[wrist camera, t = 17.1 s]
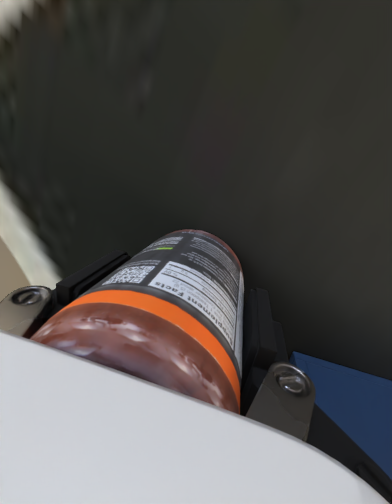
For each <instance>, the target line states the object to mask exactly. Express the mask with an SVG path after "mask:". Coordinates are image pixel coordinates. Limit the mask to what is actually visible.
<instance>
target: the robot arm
mask: <svg viewBox="0 0 392 504" xmlns="http://www.w3.org/2000/svg"><path fill="white" fill-rule="evenodd" d="M129 260H130V256H128V253H127V252H123V251H120V250H114V251H112V252H111V253H109V254H107V255H105V256H104V257H102V258H100V259H98V260H97V261H95V262H93V263H91V264H90V265H88V266H86V267H84V268H83V269H81V270H79V271H77V272H76V273H74V274H72V275H70V276H69V277H67V278H65V279H63V280H62V281H60V282H58V283H56V289H54V290H51V289H50V288H47V287H44V286H27V287H23V288H19V289H17V290H15V291H13V292H11V293H10V294H8V295H7V296H6V297H5V298H4V299H3V300H2V301H1V302H0V504H392V480H391V479H390V477H389V476H388V475H387V474H386V473H385V472H384V471H383V470H382V468H381V467H379V466H378V465H377V464H376V463H375V462H374V461H373V460H372V459H371V458H370V457H369V456H368V455H367V454H366V453H365V452H364V451H363V450H362V449H361V448H360V447H359V446H358V445H357V444H356V443H355V442H354V441H353V440H352V439H351V438H350V437H349V436H348V435H347V434H346V433H345V432H344V431H343V430H342V429H341V428H340V427H339V426H338V425H337V424H336V423H335V422H334V421H333V420H332V419H331V418H330V417H329V416H328V415H327V414H326V413H325V412H324V411H323V410H322V409H321V408H320V407H319V406H318V405H317V404H316V403H315V402H314V401H315V396H316V389H315V386H314V384H313V382H312V381H311V379H310V378H309V376H308V375H307V374H306V373H305V372H304V371H302V370H301V369H300V368H298V367H297V366H295V365H292V364H290V363H289V359H288V354H287V349H286V345H285V340H284V335H283V330H282V325H281V323H280V322H277V321H273V320H272V313H271V307H270V300H269V293H268V291H267V290H263V289H259V288H256V289H255V290H252V289H251V290H250V293H249V296H248V299H247V303H246V306H245V309H244V312H243V343H242V379H241V390H240V415H239V414H236V413H233V412H231V411H228V410H225V409H223V408H220V407H218V406H215V405H212V404H209V403H207V402H204V401H201V400H198V399H196V398H193V397H190V396H187V395H184V394H182V393H179V392H176V391H173V390H171V389H168V388H165V387H162V386H160V385H157V384H154V383H151V382H149V381H146V380H143V379H140V378H137V377H135V376H132V375H129V374H126V373H123V372H121V371H118V370H115V369H112V368H109V367H107V366H104V365H101V364H98V363H95V362H92V361H90V360H87V359H84V358H81V357H78V356H76V355H73V354H70V353H67V352H64V351H61V350H58V349H56V348H53V347H50V346H47V345H44V344H41V343H38V342H35V341H33V340H30V338H31V337H32V336H33V335H34V334H35V333H36V332H37V331H38V330H39V329H40V328H41V327H42V326H43V325H44V324H45V323H46V322H47V321H48V320H49V319H50V318H51V317H53V316H54V315H55V314H57V313H58V312H59V311H60V310H62V309H63V308H64V307H66V306H67V305H69V304H70V303H72V302H73V301H74V300H75V299H77V298H78V297H79V296H80V295H82V294H83V293H85V292H86V291H88V290H89V289H90V288H92V287H93V286H94V285H95V284H97V283H99V282H100V281H101V280H103V279H104V278H105V277H107V276H108V275H109V274H111V273H112V272H113V271H115V270H116V269H118V268H119V267H120V266H122V265H123V264H124V263H126V262H127V261H129Z"/></svg>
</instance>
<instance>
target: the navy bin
mask: <svg viewBox="0 0 392 504" xmlns="http://www.w3.org/2000/svg"><path fill="white" fill-rule="evenodd" d="M289 363H290V364H292V365H295V366H297V367H298V368H300V369H301V370H302V371H304V372H305V373H306V374H307V375H308V376H309V378H310V379H311V381H312V382H313V384H314V386H315V389H316V396H315V401H314V402H315V403H316V404H317V405H318V406H319V407H320V408H321V409H322V410H323V411H324V412H325V413H326V414H327V415H328V416H329V417H330V418H331V419H332V420H333V421H334V422H335V423H336V424H337V425H338V426H339V427H340V428H341V429H342V430H343V431H344V432H345V433H346V434H347V435H348V436H349V437H350V438H351V439H352V440H353V441H354V442H355V443H356V444H357V445H358V446H359V447H360V448H361V449H362V450H363V451H364V452H365V453H366V454H367V455H368V456H369V457H370V458H371V459H372V460H373V461H374V462H375V463H376V464H377V465H378V466H379V467H381V468H382V470H383V471H384V472H385V473H386V474H387V475H388V476H389V477H390V479H391V480H392V381H390V380H387V379H384V378H380V377H377V376H374V375H370V374H367V373H364V372H360V371H357V370H354V369H351V368H347V367H344V366H341V365H337V364H334V363H331V362H328V361H324V360H321V359H318V358H314V357H311V356H308V355H304V354H301V353H298V352H295V351H293V353H292V355H291V357H290V359H289Z"/></svg>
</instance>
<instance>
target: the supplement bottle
mask: <svg viewBox="0 0 392 504" xmlns="http://www.w3.org/2000/svg"><path fill="white" fill-rule="evenodd" d="M243 303H244V283H243V273H242V268H241V265H240V262H239V260H238V258H237V256H236V255H235V253H234V252H233V251H232V249H231V248H230V247H229V246H228V245H227V244H226V243H225V242H223V241H222V240H221V239H219V238H217V237H216V236H214V235H212V234H210V233H207V232H204V231H201V230H191V229H190V230H187V229H185V230H179V231H174V232H172V233H170V234H167V235H165V236H163V237H161V238H159V239H158V240H156V241H155V242H154V243H152V244H151V245H149V246H148V247H147V248H145V249H144V250H143V251H141V252H140V253H138V254H137V255H135V256H134V257H133V258H131V259H130V260H129V261H127V262H126V263H124V264H123V265H122V266H120V267H119V268H118V269H116V270H115V271H113V272H112V273H111V274H109V275H108V276H107V277H105V278H104V279H103V280H101V281H100V282H99V283H97V284H95V285H94V286H93V287H92V288H90V289H89V290H88V291H86V292H85V293H83V294H82V295H80V296H79V297H78V298H77V299H75V300H74V301H73V302H72V303H70V304H69V305H67V306H66V307H64V308H63V309H62V310H60V311H59V312H58V313H57V314H55V315H54V316H53V317H51V318H50V319H49V320H48V321H47V322H46V323H45V324H44V325H43V326H42V327H41V328H40V329H39V330H38V331H37V332H36V333H35V334H34V335H33V336H32V337H31V338H30V340H33V341H35V342H38V343H41V344H44V345H47V346H50V347H53V348H56V349H58V350H61V351H64V352H67V353H70V354H73V355H76V356H78V357H81V358H84V359H87V360H90V361H92V362H95V363H98V364H101V365H104V366H107V367H109V368H112V369H115V370H118V371H121V372H123V373H126V374H129V375H132V376H135V377H137V378H140V379H143V380H146V381H149V382H151V383H154V384H157V385H160V386H162V387H165V388H168V389H171V390H173V391H176V392H179V393H182V394H184V395H187V396H190V397H193V398H196V399H198V400H201V401H204V402H207V403H209V404H212V405H215V406H218V407H220V408H223V409H225V410H228V411H231V412H233V413H236V414H239V415H240V390H241V379H242V343H243V312H244V310H243Z"/></svg>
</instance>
